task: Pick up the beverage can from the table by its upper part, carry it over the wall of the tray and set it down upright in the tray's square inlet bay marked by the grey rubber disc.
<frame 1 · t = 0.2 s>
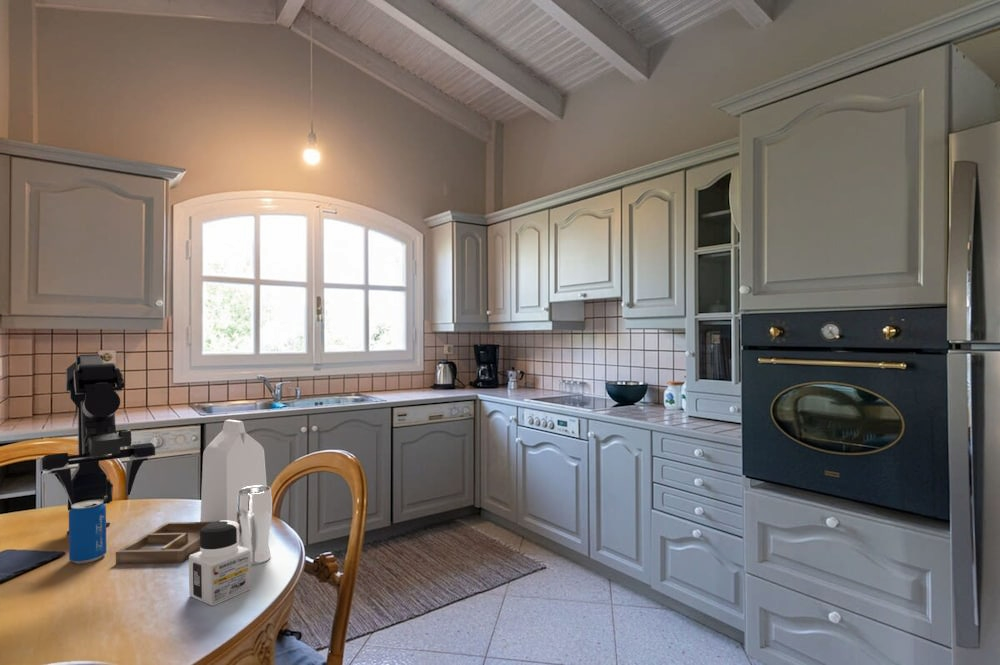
hand: (101, 499, 111), 15 cm above the table, tool pointing down, fingers open, 9 cm apart
beverage can: (88, 559, 119), on the table
container: (220, 594, 103), on the table
milk: (235, 521, 142), on the table
tray: (173, 546, 125), on the table
beer glass: (255, 560, 118), on the table
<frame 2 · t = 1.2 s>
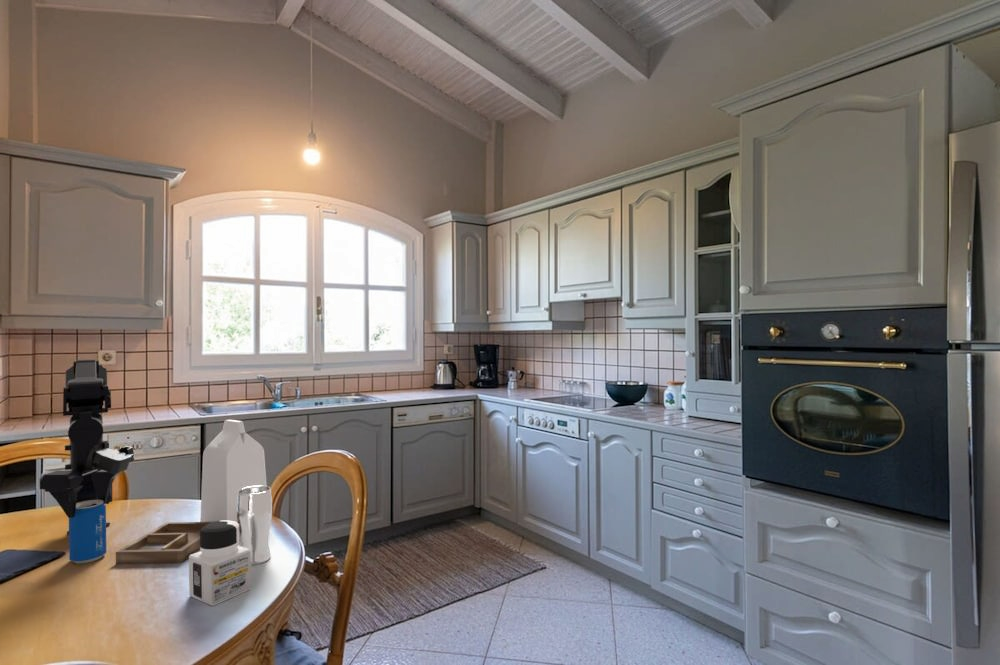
hand: (87, 510, 119), 11 cm above the table, tool pointing down, fingers open, 9 cm apart
nothing on the table moved.
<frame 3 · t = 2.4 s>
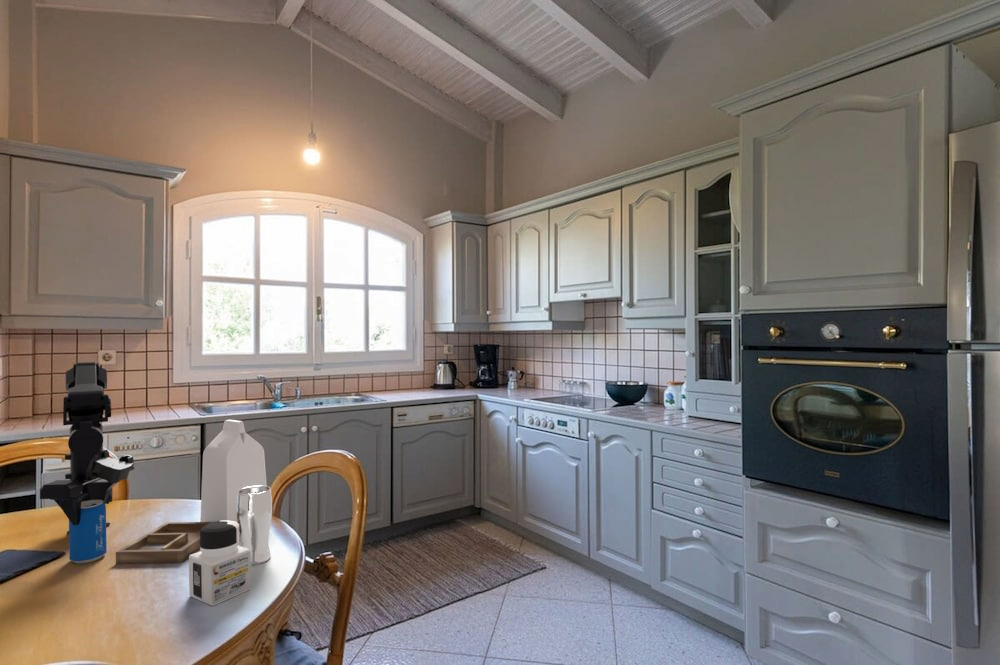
hand: (87, 519, 119), 9 cm above the table, tool pointing down, fingers closed on beverage can, 6 cm apart
beverage can: (88, 559, 119), on the table, touching gripper
everything else where it was.
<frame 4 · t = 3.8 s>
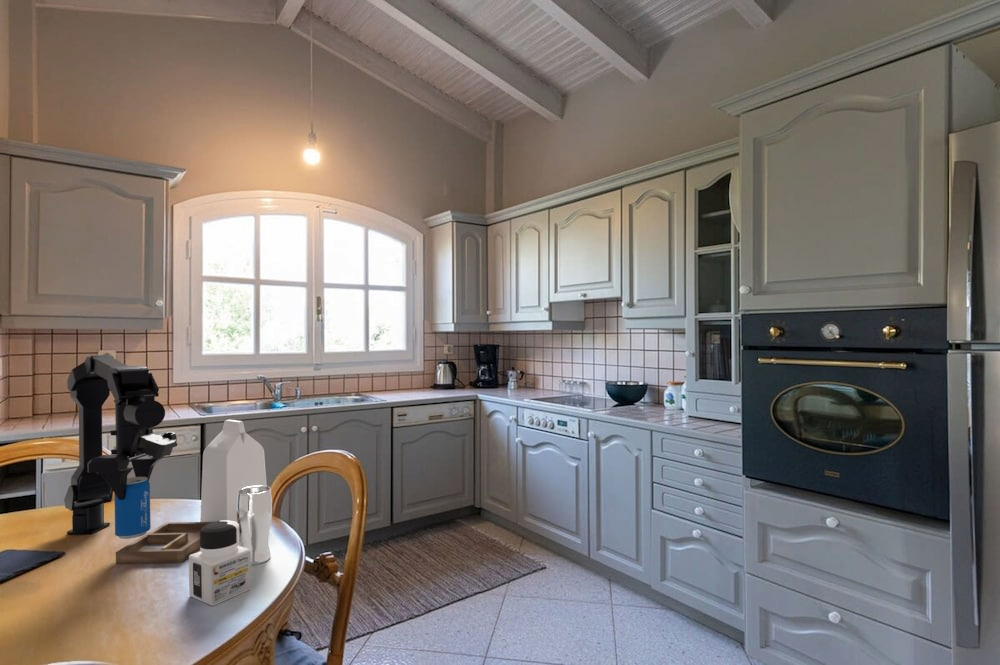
hand: (132, 495, 120), 13 cm above the table, tool pointing down, fingers closed on beverage can, 6 cm apart
beverage can: (133, 535, 120), point 5 cm above the table, touching gripper
everything else where it was.
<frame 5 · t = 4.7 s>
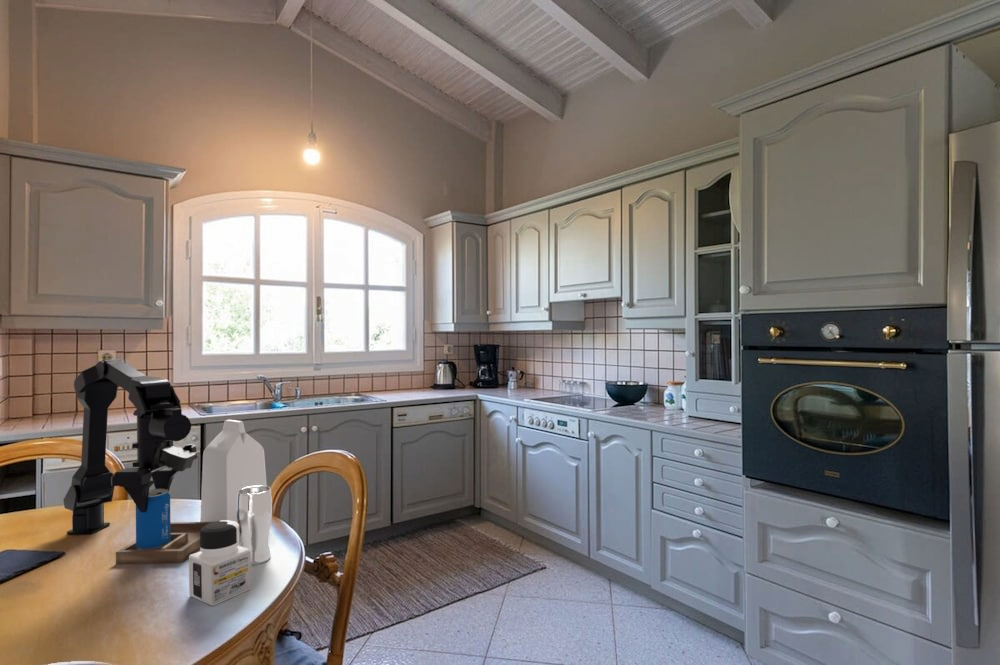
hand: (153, 507, 121), 10 cm above the table, tool pointing down, fingers closed on beverage can, 6 cm apart
beverage can: (153, 547, 121), point 1 cm above the table, touching gripper
everything else where it was.
when the fingers open (10 cm above the table, at t = 5.4 s): beverage can stays where it is, resting on tray.
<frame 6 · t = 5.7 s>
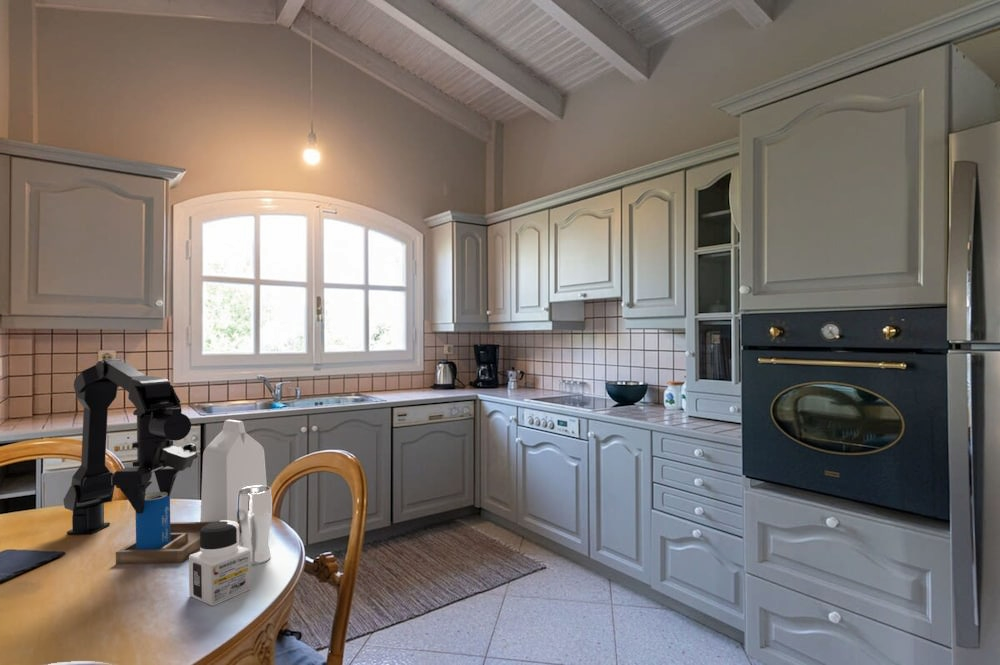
hand: (153, 506, 121), 10 cm above the table, tool pointing down, fingers open, 9 cm apart
beverage can: (153, 550, 121), point 1 cm above the table, touching tray
everything else where it was.
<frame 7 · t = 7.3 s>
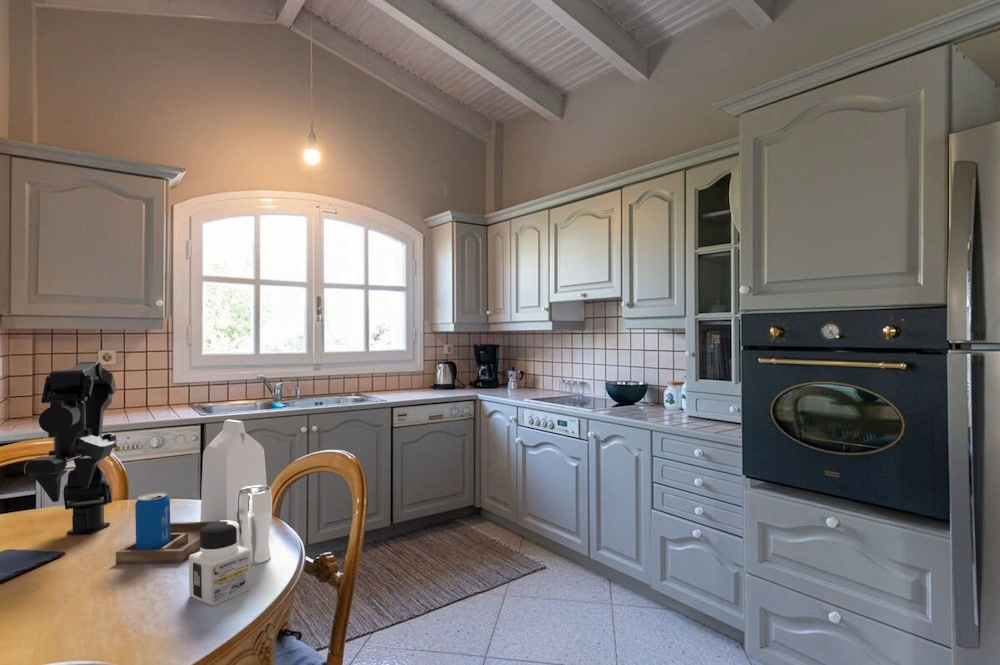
hand: (71, 495, 123), 13 cm above the table, tool pointing down, fingers open, 9 cm apart
nothing on the table moved.
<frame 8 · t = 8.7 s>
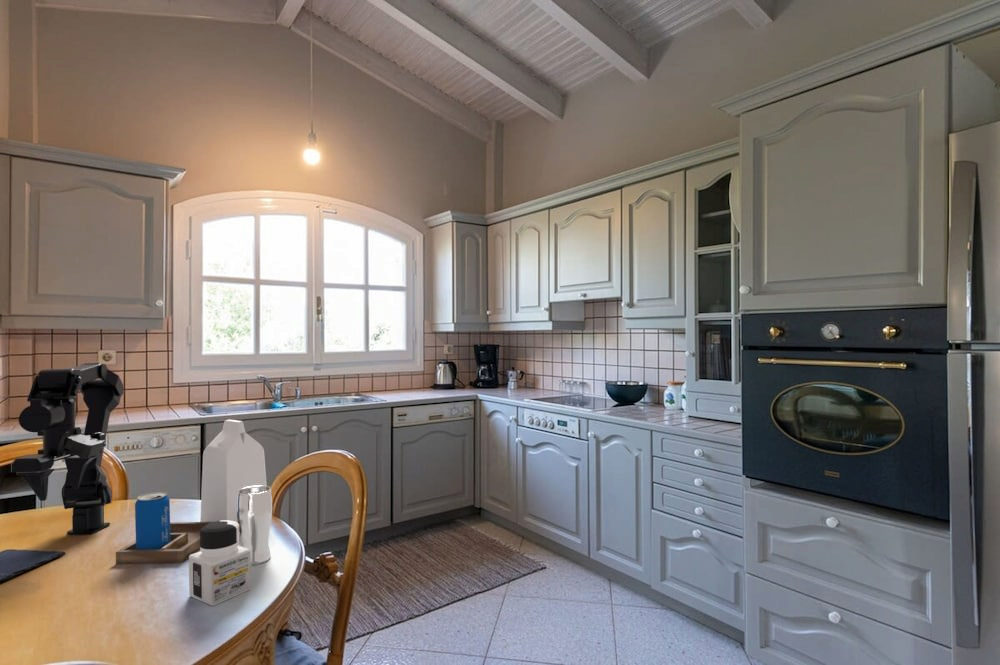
hand: (60, 494, 123), 13 cm above the table, tool pointing down, fingers open, 9 cm apart
nothing on the table moved.
at the end: beverage can 0.1 cm from the target spot on the tray, point 0.7 cm above the tray's base; beverage can tilted 1°; the gripper is holding nothing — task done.
